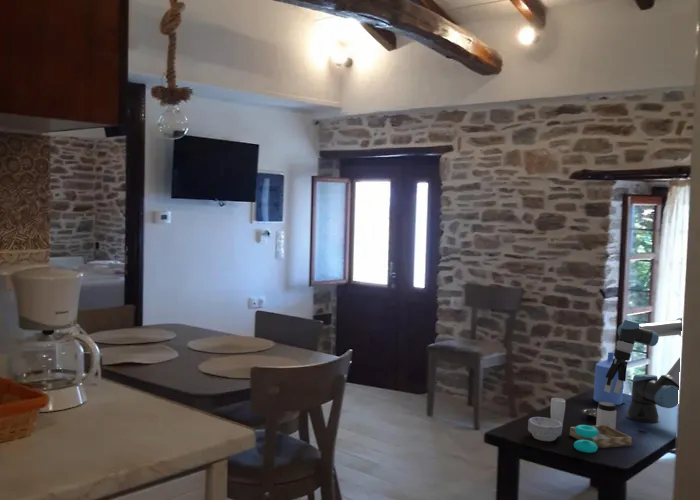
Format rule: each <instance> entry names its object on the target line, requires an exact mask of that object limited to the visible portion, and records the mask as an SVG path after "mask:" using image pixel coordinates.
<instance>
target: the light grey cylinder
mask: <svg viewBox="0 0 700 500" xmlns="http://www.w3.org/2000/svg"><path fill="white" fill-rule="evenodd" d="M565 413H566V399H564V398H561V397H552V398H551V399H550V418H551V419H555V420H557V421H559V422H561V423H562V427H564V426H563V424H564V419H565V418H564V417H565Z"/></svg>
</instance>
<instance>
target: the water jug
mask: <svg viewBox="0 0 700 500" xmlns="http://www.w3.org/2000/svg"><path fill="white" fill-rule="evenodd" d="M614 353H615V352H607V354H608V355H607V359H606V360H602V361H599V362H597V363H595V368H594V371H595V373H594V375H595V376H594V381H593V382H594V383H593V386H594V389H593V390H594V391H593V396H592V397H593V398H592V399H593V401H595V402H596V403H599V402H611V403H614V404H616V406H619V405H622V404H623V402H624V400H623V396H624V388H625V385H624V384H625V383H624V381H623V384H622V387H621V391H620V394H618V393H615V392H614V389H615V386H616V382H617V380H618V371H617V373H616V375H615V376H614V378H613V379H612V380H613V383H612V387H611V390H610V393H608V392H606V391H604V389H605V385H606V382H607V378H606V375H607V373H608V371H609V369H610V367H611V364H612V362H613V359H615V357H614Z"/></svg>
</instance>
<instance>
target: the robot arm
mask: <svg viewBox="0 0 700 500" xmlns="http://www.w3.org/2000/svg"><path fill="white" fill-rule="evenodd" d="M682 318H683V317H678V318H676V320H668V321H656V322H648V323H639V322H637V321H633V320H629V319H624V320H623V322H622V324H620V325H619V326H618V327H617V335H618V340H617V341H616V346H615V348H616V349H615V350H614V352H613V353H614V355H613V356H614V358H613V362H612V364H611V367H610V369H609V371H608V373H607V375H606V378H607V382H606V385H605V389H604V391H606V392H608V393H610V390H611V387H612V383H613V380H612V379H613V378H614V376H615V375H616V373H617V371H618V380H617V382H616V386H615V389H614V392H615V393H618V394H620V391H621V387H622V384H623V381H624V382H626V380H627V379H626V378H627V368H628V363H629V361H630V360H631V356H632V355H631V353H633V349H634V345H635V343H638V344H641V345H646V346H649V347H655V346H656V345H657V344H658V342H659V339H660V338H659V337H671V336H679V337H682V336H681V331H682ZM679 372H680V357H679V358H678V359H677V360H676V362H675V363H674V364H673V365H672V366H671V368H670V369H669V371H667V373H666V374H663V375H660V377H659V378H658V376H657V375H654V374H638V373H637V374H634V375H633V377H632V387H631V388H632V389H631V403H630V406H629V407H628V410H627V411H626V417H627V418H628V419H631V420H633V421H635V422H642V423H657V422H659V419H660V418H659V414H658V410H657V409H658V408H657V406H658V407H660V408H664V409H672V408H675V407H677V406H678V405H679V404H678V390H679ZM677 404H678V405H677Z"/></svg>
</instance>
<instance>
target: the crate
mask: <svg viewBox="0 0 700 500" xmlns="http://www.w3.org/2000/svg"><path fill="white" fill-rule="evenodd" d="M592 426H593V427H595V428H597V429H598V431H599V433H598V435H597V436H596V437H591V438H589V437H583V436H580V435H578V434H577V433H576V432H575V427H576V426H570V427H569V436H571V437H572V438H574V439H576V440H589V441H592V442H594V443H595V444H596V445H597V447H598V449H603V448H604V449H605V448H619V447H621V448H622V447H631V446H632V441H633V440H632V439H633V437H632V436H630V435H629V434H626V433H623V432H621V430H617V429H616V428H615V429H613V428H611V427H609V426H607V425H599V426H596V425H592Z"/></svg>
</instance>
